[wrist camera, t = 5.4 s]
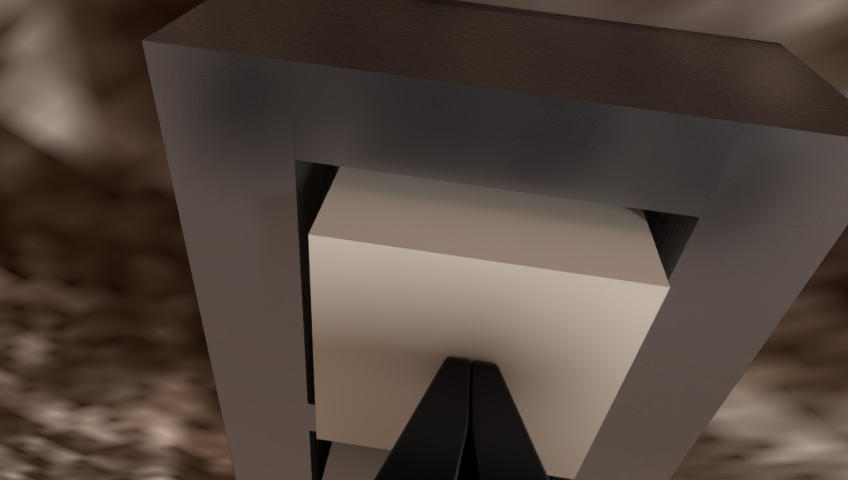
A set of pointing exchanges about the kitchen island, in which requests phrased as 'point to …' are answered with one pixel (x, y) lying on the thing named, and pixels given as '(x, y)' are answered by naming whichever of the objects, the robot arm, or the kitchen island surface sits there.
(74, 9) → the kitchen island surface
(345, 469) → the key grey
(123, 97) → the kitchen island surface
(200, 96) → the key panel
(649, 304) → the key ivory
